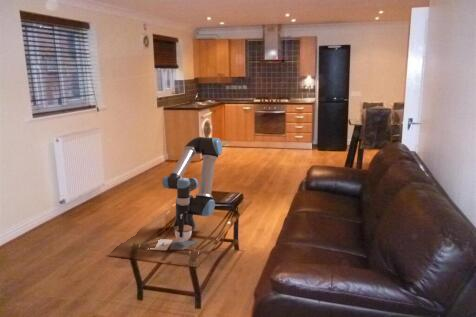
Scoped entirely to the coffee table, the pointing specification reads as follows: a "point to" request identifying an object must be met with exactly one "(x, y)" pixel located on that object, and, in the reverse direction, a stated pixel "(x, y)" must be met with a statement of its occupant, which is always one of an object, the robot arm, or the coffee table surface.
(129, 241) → the coffee table surface
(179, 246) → the mat
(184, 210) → the robot arm
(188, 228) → the lidded jar
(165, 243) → the card
